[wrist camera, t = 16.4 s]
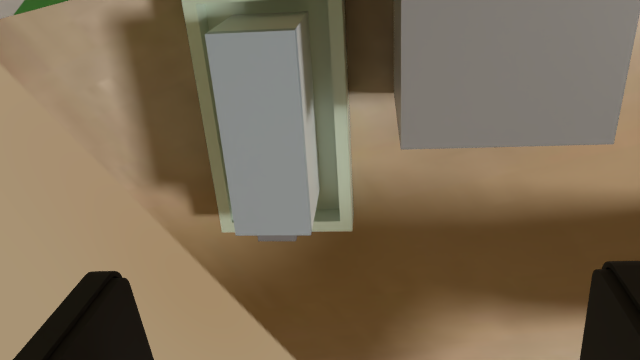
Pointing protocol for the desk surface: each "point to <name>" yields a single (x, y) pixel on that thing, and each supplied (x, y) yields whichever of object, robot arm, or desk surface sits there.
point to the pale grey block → (267, 121)
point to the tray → (329, 100)
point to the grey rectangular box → (510, 71)
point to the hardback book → (23, 6)
